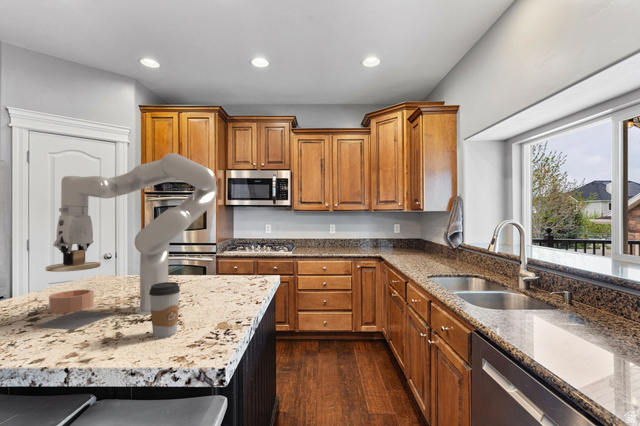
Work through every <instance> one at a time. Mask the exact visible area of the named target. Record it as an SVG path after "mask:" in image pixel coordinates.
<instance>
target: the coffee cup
mask: <svg viewBox="0 0 640 426" xmlns="http://www.w3.org/2000/svg"><path fill="white" fill-rule="evenodd" d="M180 288H181V287H180V285H179V282H175V281H168V282H164V283H158V284H154V285H152V286H151V289H150V293H149V295H150V301H151V314H150V315H151V316H150V318H151V325H152V326H151V327H152V336H153V337H154V338H155V337H156V339H166V338H165V337H167V338H170V337H172V335H173V336H175V335H176V334H177V330H178V321H179V307H180V306H179V303H180V302H179V301H180V291H181V289H180Z"/></svg>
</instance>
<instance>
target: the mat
mask: <svg viewBox="0 0 640 426" xmlns="http://www.w3.org/2000/svg"><path fill="white" fill-rule="evenodd" d="M116 314H117V313H114V312H101V311H87V310H86V311H84V310H80V311H74V312H71V313H69V314H66V315H62V316H60V317H57V318H53V319H50V320H48V321H44V322H42V323H38V324H35V325H32V326H31V328H46V329H57V330H58V329H59V330H71V331H74V330H77V329H79V328H82V327H84V326H87V325H90V324H93V323H94V322H98V321H100V320H103V319H106V318H108V317H111V316H114V315H116Z"/></svg>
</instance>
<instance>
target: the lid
mask: <svg viewBox="0 0 640 426" xmlns="http://www.w3.org/2000/svg"><path fill="white" fill-rule="evenodd" d="M71 253H73V264H72V265H64V264H63V263H57V264H51V265H47V266H45V272H53V273H57V272H58V273H60V272H61V273H62V272H78V271H86V270H92V269H97V268H100V267H101V262H98V261H85V263H84V255H85V256H86V251H85V250H78V249H72V250H71Z"/></svg>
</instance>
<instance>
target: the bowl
mask: <svg viewBox="0 0 640 426" xmlns="http://www.w3.org/2000/svg"><path fill="white" fill-rule="evenodd" d="M94 297H95V296H94V290H93V289H72V290H65V291H60V292H57V293H52V294H51V295H49V296H48V312H49V313H50V314H67V313H75V312H78V311H84V310H86V309H90V308H91V307H93V306H94V305H95V304H94V303H95V302H94Z"/></svg>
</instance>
